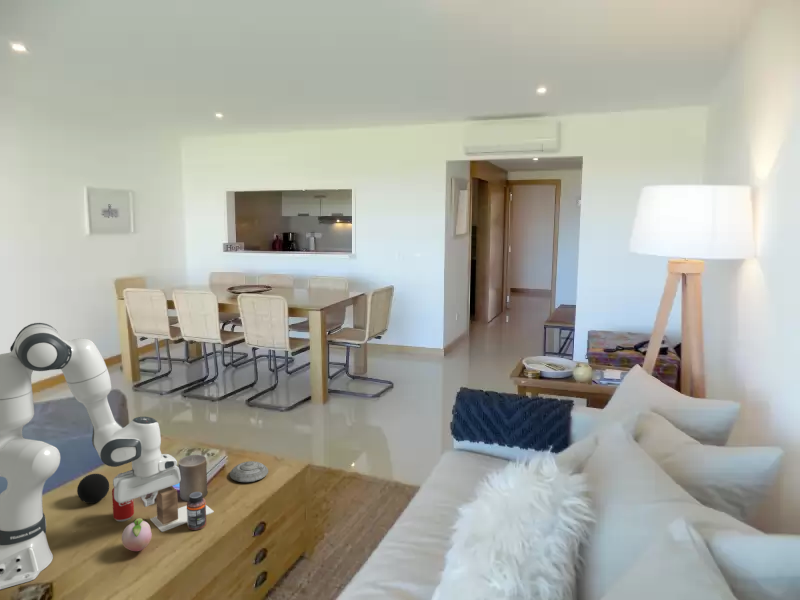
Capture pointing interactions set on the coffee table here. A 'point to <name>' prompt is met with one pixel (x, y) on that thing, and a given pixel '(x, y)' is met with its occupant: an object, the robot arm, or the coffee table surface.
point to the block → (167, 506)
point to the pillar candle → (192, 476)
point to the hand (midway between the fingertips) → (149, 504)
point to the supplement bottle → (196, 511)
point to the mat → (181, 519)
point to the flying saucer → (249, 471)
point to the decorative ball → (93, 488)
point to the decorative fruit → (136, 535)
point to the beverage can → (122, 509)
